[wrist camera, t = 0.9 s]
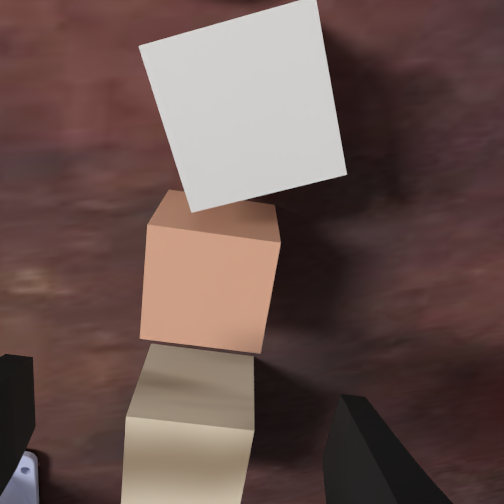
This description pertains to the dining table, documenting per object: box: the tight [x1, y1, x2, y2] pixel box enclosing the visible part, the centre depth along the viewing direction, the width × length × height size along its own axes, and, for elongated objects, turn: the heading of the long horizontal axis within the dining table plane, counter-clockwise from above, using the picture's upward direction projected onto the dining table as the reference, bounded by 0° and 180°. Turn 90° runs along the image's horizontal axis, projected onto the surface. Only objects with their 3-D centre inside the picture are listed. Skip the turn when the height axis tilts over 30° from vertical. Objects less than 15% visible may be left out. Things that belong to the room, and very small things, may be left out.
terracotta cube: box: [140, 190, 281, 353], centre depth 19 cm, size 4×4×4 cm
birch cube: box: [121, 344, 254, 504], centre depth 21 cm, size 5×5×5 cm
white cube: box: [139, 0, 347, 213], centre depth 16 cm, size 5×5×5 cm
